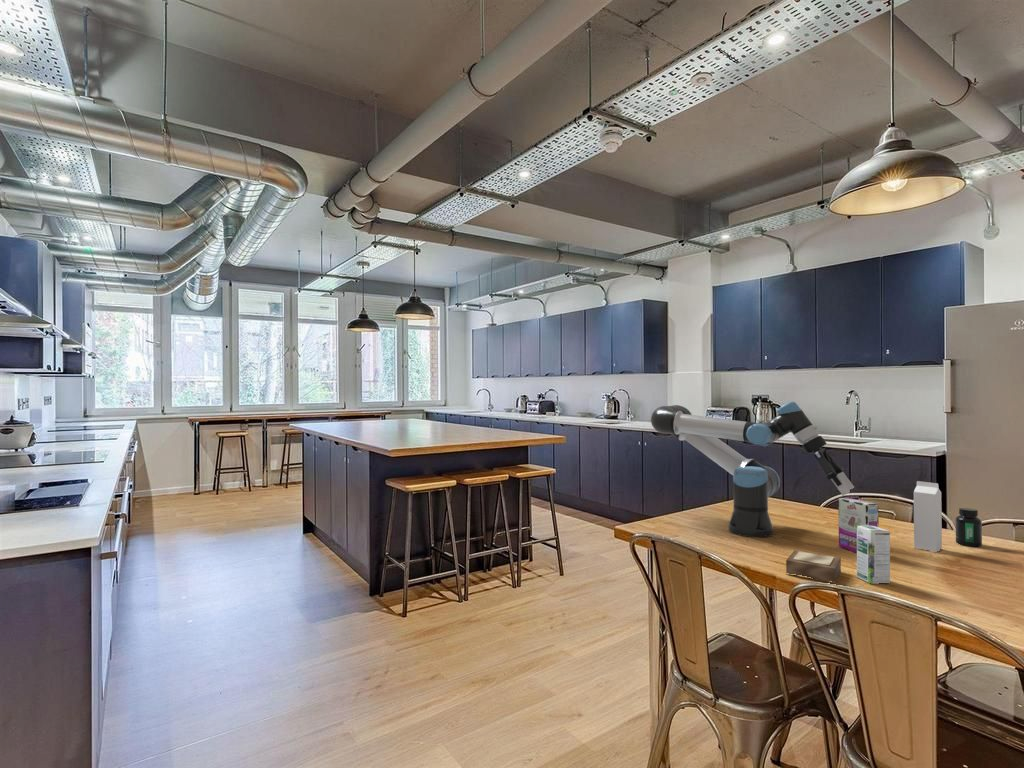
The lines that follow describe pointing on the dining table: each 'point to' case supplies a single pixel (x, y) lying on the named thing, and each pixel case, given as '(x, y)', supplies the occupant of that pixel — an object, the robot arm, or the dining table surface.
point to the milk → (927, 516)
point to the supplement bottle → (968, 528)
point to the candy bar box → (854, 520)
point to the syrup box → (873, 554)
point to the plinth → (814, 566)
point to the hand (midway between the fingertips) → (849, 491)
